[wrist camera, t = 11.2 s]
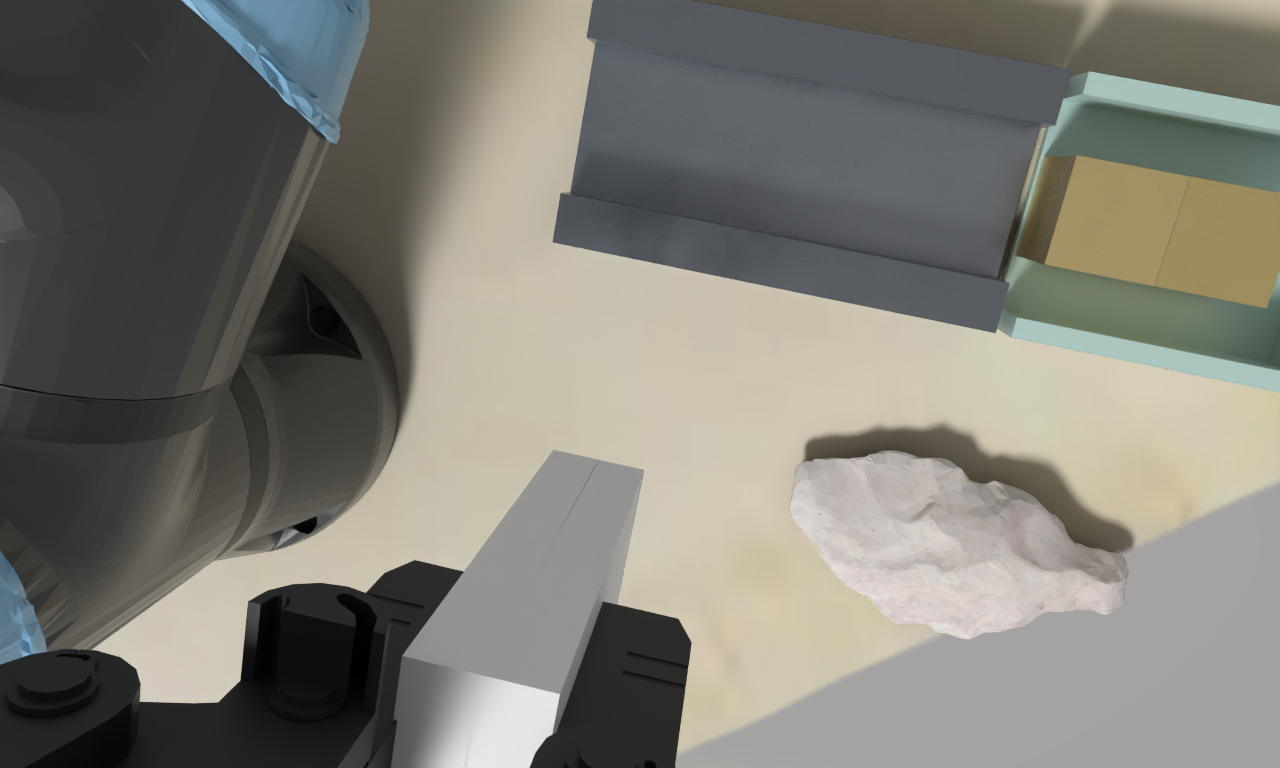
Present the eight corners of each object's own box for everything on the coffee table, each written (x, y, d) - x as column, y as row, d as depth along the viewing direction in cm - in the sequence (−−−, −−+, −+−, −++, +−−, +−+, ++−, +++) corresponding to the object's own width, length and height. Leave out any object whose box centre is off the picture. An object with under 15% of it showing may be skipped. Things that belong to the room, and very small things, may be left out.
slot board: (567, 237, 40) (552, 242, 38) (608, -3, 38) (595, -18, 35) (977, 321, 39) (995, 332, 36) (1046, 78, 37) (1071, 69, 34)
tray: (989, 323, 39) (1011, 337, 36) (1059, 80, 37) (1089, 71, 33) (1274, 382, 38) (1323, 401, 35) (1365, 136, 36) (1427, 133, 33)
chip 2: (1113, 274, 38) (1154, 286, 34) (1144, 176, 37) (1190, 176, 33) (1213, 294, 37) (1266, 308, 34) (1247, 195, 36) (1306, 198, 33)
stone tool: (1145, 493, 40) (803, 420, 42) (1173, 513, 37) (803, 433, 39) (1096, 663, 42) (767, 584, 44) (1118, 695, 39) (764, 609, 41)
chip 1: (1014, 255, 38) (1044, 264, 34) (1043, 157, 37) (1076, 155, 33) (1113, 274, 38) (1154, 286, 34) (1144, 176, 37) (1190, 176, 33)
